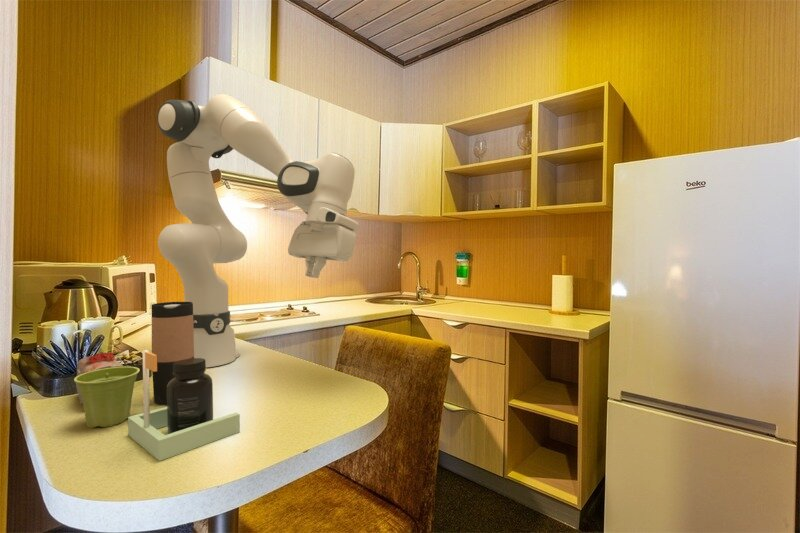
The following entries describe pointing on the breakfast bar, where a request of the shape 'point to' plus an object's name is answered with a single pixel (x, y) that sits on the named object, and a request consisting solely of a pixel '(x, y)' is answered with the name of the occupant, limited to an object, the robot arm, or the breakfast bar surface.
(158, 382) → the travel mug
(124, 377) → the plant pot
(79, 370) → the food item
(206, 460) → the breakfast bar surface
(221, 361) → the robot arm
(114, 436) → the breakfast bar surface
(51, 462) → the breakfast bar surface
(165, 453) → the u-shaped flag stand
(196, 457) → the breakfast bar surface
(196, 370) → the supplement bottle
